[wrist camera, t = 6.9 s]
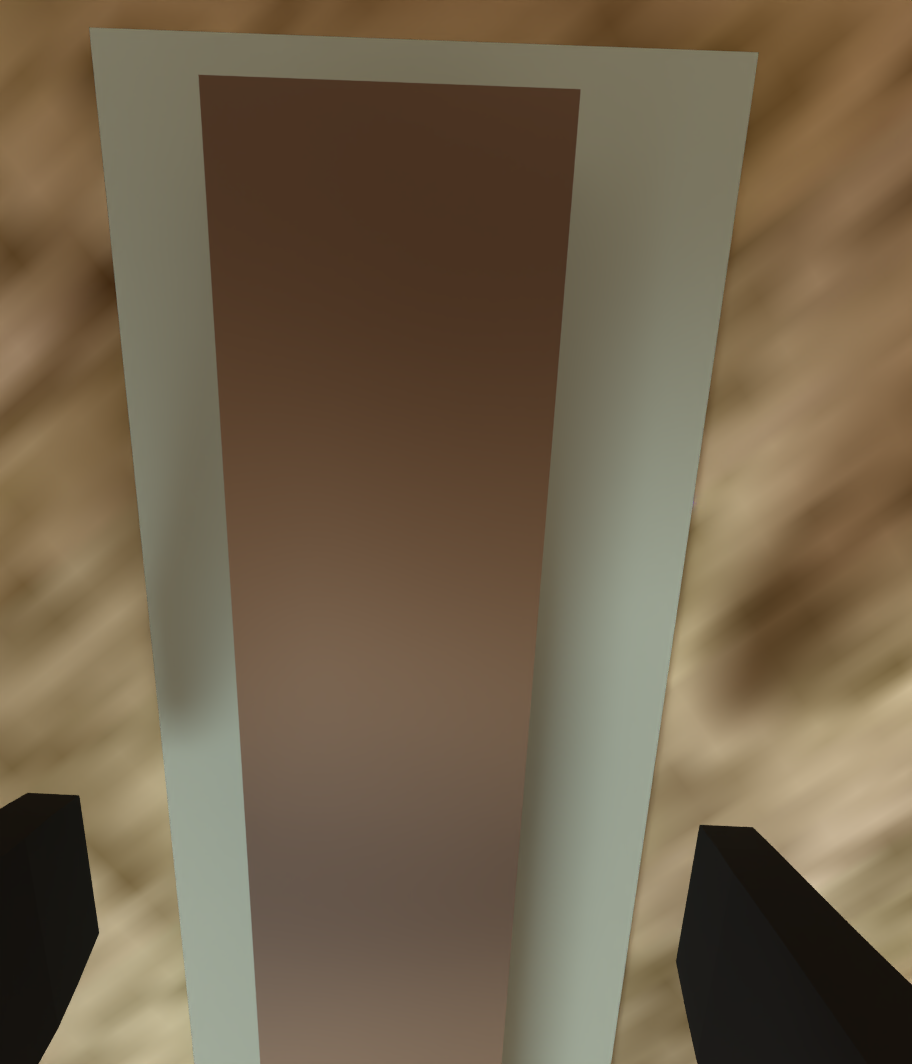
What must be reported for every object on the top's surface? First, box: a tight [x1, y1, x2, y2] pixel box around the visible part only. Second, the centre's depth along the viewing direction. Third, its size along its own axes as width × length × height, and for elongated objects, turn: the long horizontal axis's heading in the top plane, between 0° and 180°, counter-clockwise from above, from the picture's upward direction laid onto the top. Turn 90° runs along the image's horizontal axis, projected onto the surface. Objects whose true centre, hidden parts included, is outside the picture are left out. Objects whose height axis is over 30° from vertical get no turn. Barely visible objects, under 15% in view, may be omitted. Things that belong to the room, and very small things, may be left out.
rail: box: [198, 75, 581, 1064], centre depth 9 cm, size 16×3×3 cm, turn 178°
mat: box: [89, 27, 759, 1064], centre depth 11 cm, size 18×7×1 cm, turn 178°
